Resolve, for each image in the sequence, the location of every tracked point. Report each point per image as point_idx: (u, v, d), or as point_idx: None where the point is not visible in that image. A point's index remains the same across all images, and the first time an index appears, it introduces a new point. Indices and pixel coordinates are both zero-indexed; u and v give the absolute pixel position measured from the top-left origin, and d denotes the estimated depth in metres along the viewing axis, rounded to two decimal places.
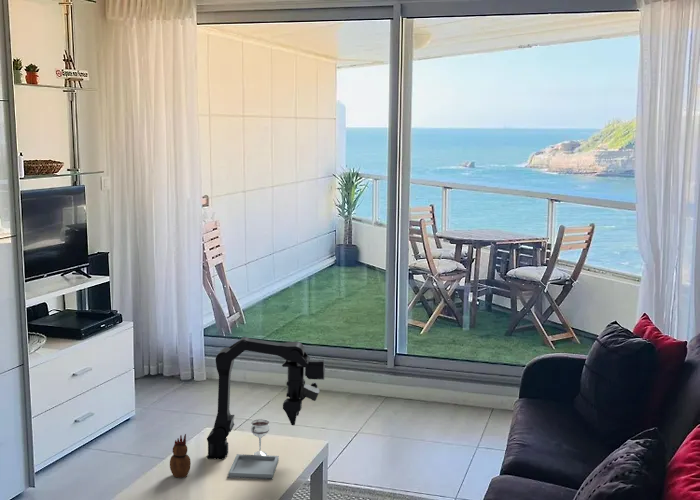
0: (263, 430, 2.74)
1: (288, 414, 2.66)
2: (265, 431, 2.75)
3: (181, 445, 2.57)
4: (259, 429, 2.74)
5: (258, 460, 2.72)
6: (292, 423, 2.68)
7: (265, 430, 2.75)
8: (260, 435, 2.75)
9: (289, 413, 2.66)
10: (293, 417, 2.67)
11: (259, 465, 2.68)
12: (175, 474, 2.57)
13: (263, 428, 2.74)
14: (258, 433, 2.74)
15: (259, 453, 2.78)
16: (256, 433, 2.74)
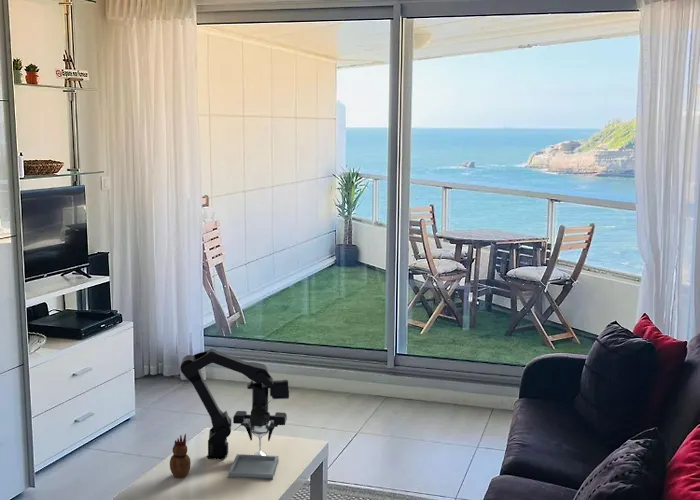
0: (263, 430, 2.74)
1: None
2: (265, 431, 2.75)
3: (181, 445, 2.57)
4: (259, 429, 2.74)
5: (258, 460, 2.72)
6: None
7: (265, 430, 2.75)
8: (260, 435, 2.75)
9: None
10: None
11: (259, 465, 2.68)
12: (175, 474, 2.57)
13: (263, 428, 2.74)
14: (258, 433, 2.74)
15: (259, 453, 2.78)
16: (256, 433, 2.74)
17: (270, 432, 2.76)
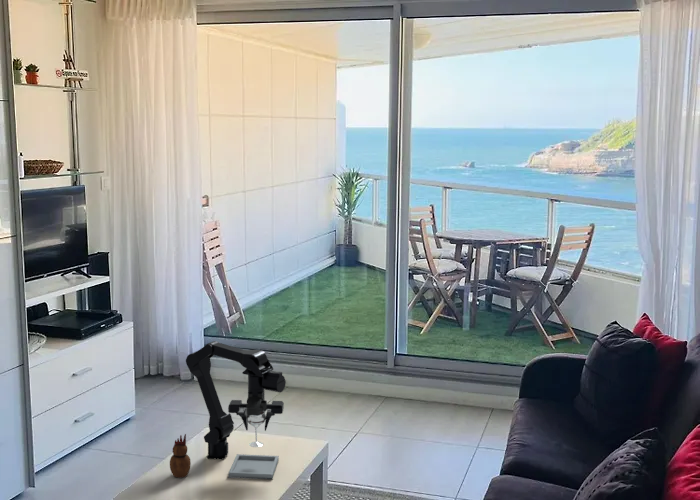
0: (260, 420, 2.63)
1: None
2: (262, 420, 2.64)
3: (181, 445, 2.57)
4: (255, 418, 2.63)
5: (258, 460, 2.72)
6: None
7: (262, 419, 2.64)
8: (256, 424, 2.64)
9: None
10: None
11: (259, 465, 2.68)
12: (175, 474, 2.57)
13: (260, 417, 2.64)
14: (255, 422, 2.63)
15: (255, 443, 2.67)
16: (252, 422, 2.63)
17: (267, 421, 2.65)
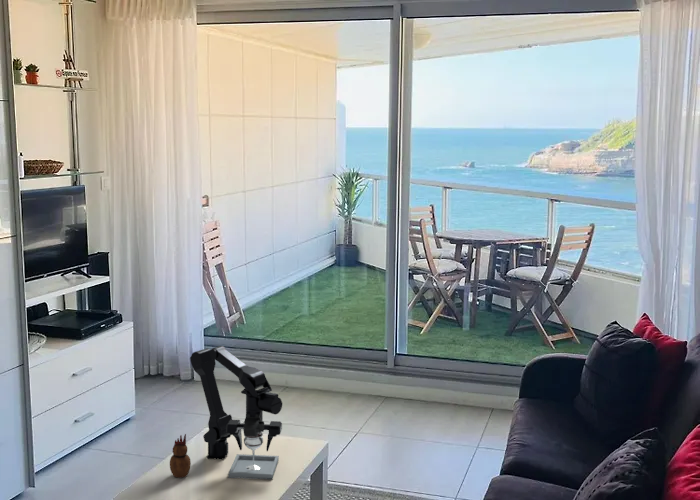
0: (257, 443, 2.62)
1: None
2: (259, 443, 2.62)
3: (181, 445, 2.57)
4: (252, 441, 2.61)
5: (258, 460, 2.72)
6: None
7: (259, 442, 2.62)
8: (253, 448, 2.62)
9: None
10: None
11: None
12: (175, 474, 2.57)
13: (256, 440, 2.62)
14: (252, 445, 2.61)
15: (252, 466, 2.65)
16: (249, 445, 2.62)
17: (269, 442, 2.63)
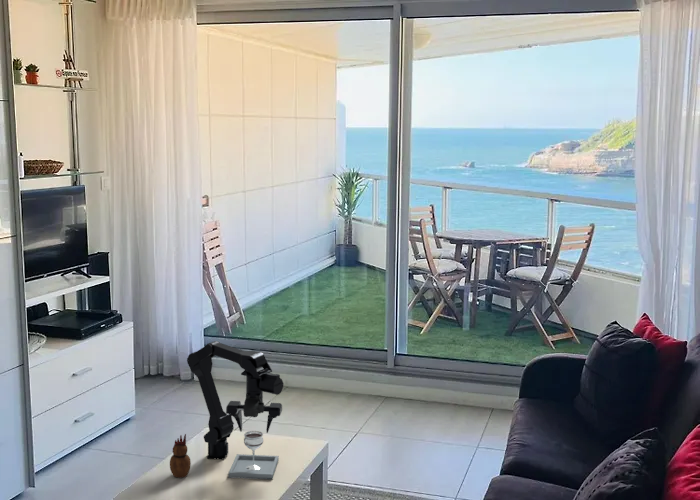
0: (257, 443, 2.62)
1: None
2: (259, 443, 2.62)
3: (181, 445, 2.57)
4: (252, 441, 2.61)
5: (258, 460, 2.72)
6: None
7: (259, 442, 2.62)
8: (253, 447, 2.62)
9: None
10: None
11: None
12: (175, 474, 2.57)
13: (257, 440, 2.62)
14: (252, 445, 2.62)
15: (252, 466, 2.65)
16: (249, 445, 2.62)
17: (268, 423, 2.64)
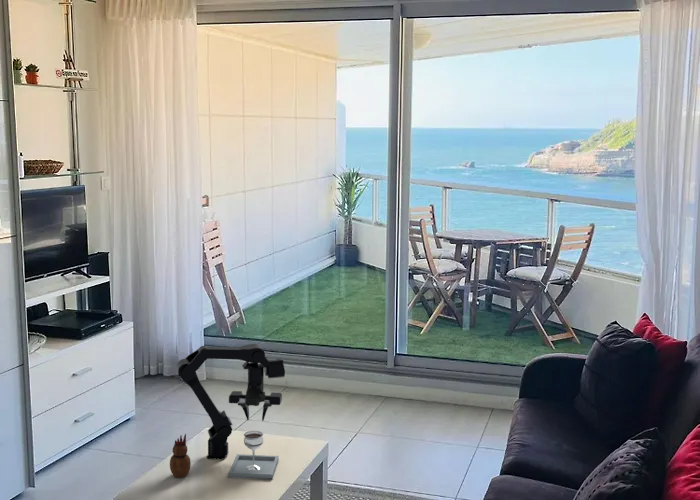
0: (257, 443, 2.62)
1: None
2: (259, 443, 2.62)
3: (181, 445, 2.57)
4: (252, 441, 2.61)
5: (258, 460, 2.72)
6: None
7: (259, 442, 2.62)
8: (253, 447, 2.62)
9: None
10: None
11: None
12: (175, 474, 2.57)
13: (257, 440, 2.62)
14: (252, 445, 2.62)
15: (252, 466, 2.65)
16: (249, 445, 2.62)
17: (264, 412, 2.77)
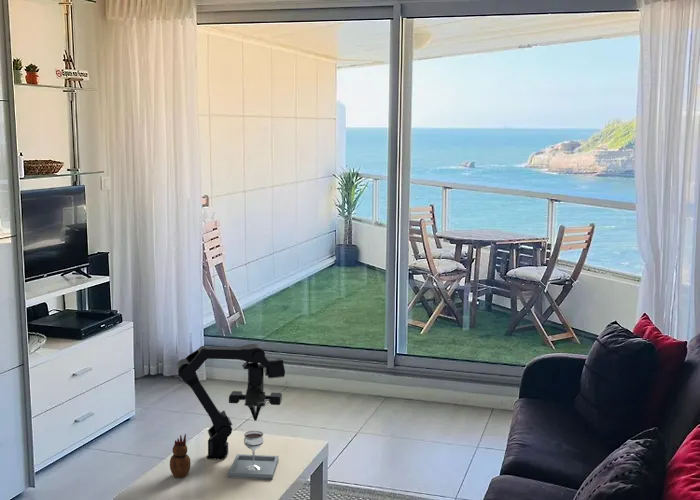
0: (257, 443, 2.62)
1: None
2: (259, 443, 2.62)
3: (181, 445, 2.57)
4: (252, 441, 2.61)
5: (258, 460, 2.72)
6: None
7: (259, 442, 2.62)
8: (253, 447, 2.62)
9: None
10: None
11: None
12: (175, 474, 2.57)
13: (257, 440, 2.62)
14: (252, 445, 2.61)
15: (252, 466, 2.65)
16: (249, 445, 2.62)
17: (257, 412, 2.77)
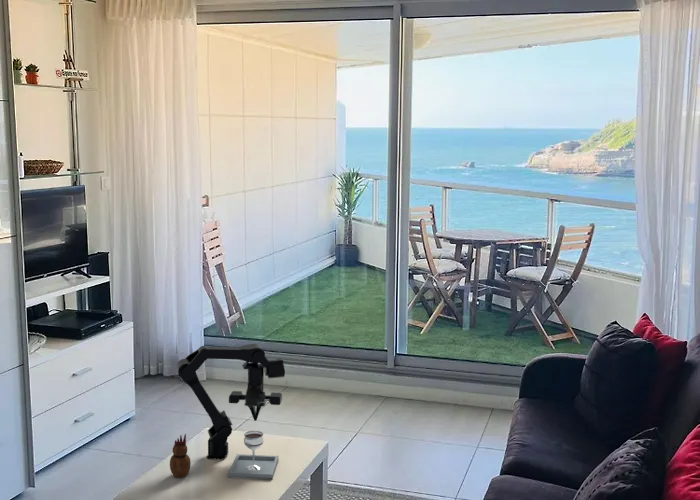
0: (257, 443, 2.62)
1: None
2: (259, 443, 2.62)
3: (181, 445, 2.57)
4: (252, 441, 2.61)
5: (258, 460, 2.72)
6: None
7: (259, 442, 2.62)
8: (253, 448, 2.62)
9: None
10: None
11: None
12: (175, 474, 2.57)
13: (257, 440, 2.62)
14: (252, 445, 2.62)
15: (252, 466, 2.65)
16: (249, 445, 2.62)
17: (257, 412, 2.77)
